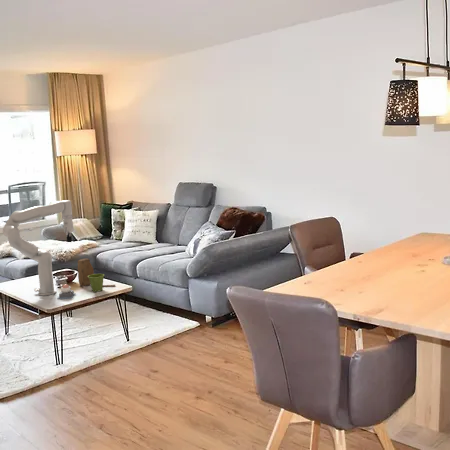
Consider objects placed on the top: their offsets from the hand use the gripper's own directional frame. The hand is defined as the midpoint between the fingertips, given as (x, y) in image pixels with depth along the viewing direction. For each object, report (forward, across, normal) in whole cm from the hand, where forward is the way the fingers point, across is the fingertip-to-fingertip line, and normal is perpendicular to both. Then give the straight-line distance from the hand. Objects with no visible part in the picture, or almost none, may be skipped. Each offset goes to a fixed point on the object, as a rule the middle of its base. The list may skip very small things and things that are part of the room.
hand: (69, 241), depth 400 cm
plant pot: (+35, -11, -20) cm, 42 cm away
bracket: (+35, -1, -24) cm, 42 cm away
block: (+35, +8, -8) cm, 37 cm away
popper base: (+35, -24, -1) cm, 43 cm away
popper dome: (+34, -24, -1) cm, 41 cm away
